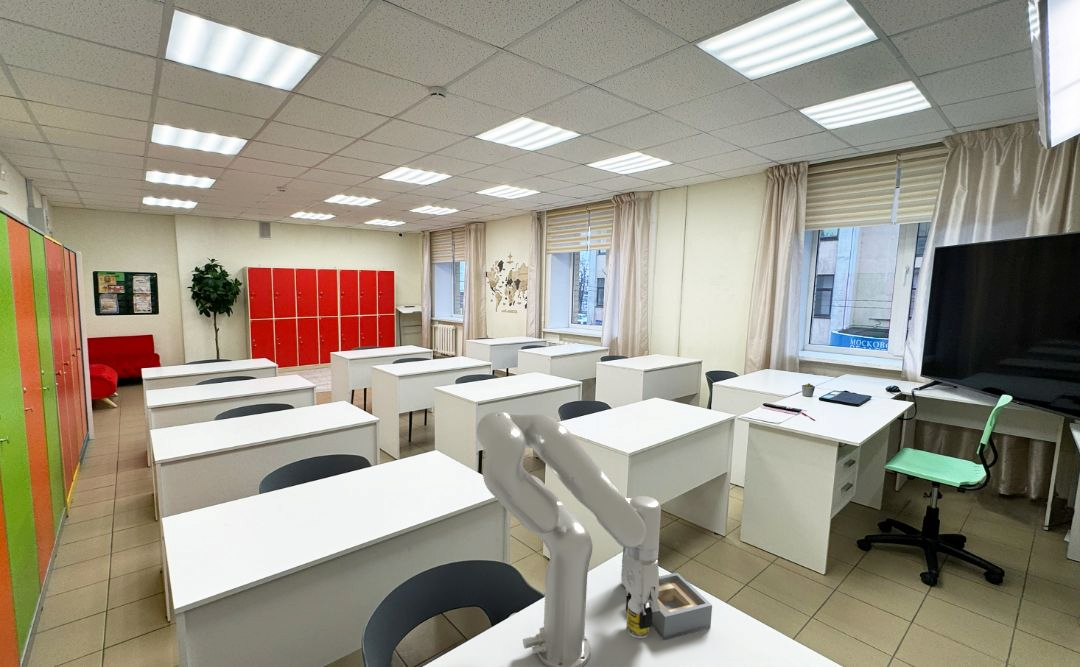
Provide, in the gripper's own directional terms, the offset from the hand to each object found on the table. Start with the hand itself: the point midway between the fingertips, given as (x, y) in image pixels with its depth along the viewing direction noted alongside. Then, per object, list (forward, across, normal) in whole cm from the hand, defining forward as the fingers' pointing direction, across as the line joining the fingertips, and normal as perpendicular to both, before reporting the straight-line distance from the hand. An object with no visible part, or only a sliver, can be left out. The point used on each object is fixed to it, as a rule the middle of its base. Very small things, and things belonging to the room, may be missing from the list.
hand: (638, 617), depth 114 cm
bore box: (+3, -2, +12) cm, 12 cm away
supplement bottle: (+4, 0, 0) cm, 4 cm away
